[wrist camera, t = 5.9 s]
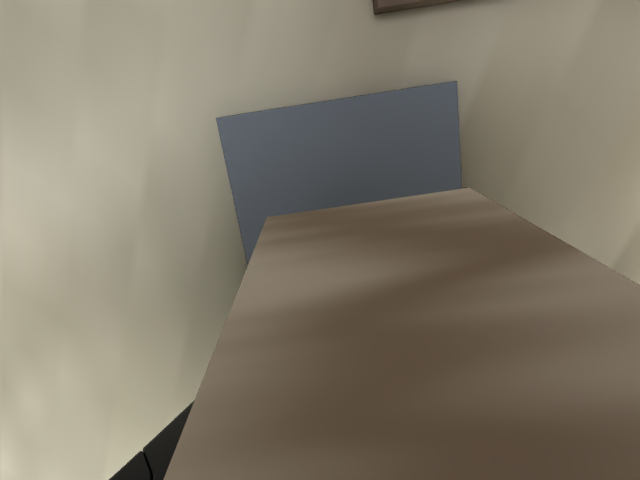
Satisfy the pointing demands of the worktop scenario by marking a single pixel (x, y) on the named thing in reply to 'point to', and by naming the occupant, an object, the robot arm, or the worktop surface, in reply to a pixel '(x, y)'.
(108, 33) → the worktop surface
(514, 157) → the worktop surface
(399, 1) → the walnut collar
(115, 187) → the worktop surface
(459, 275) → the beech block
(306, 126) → the rubber mat
